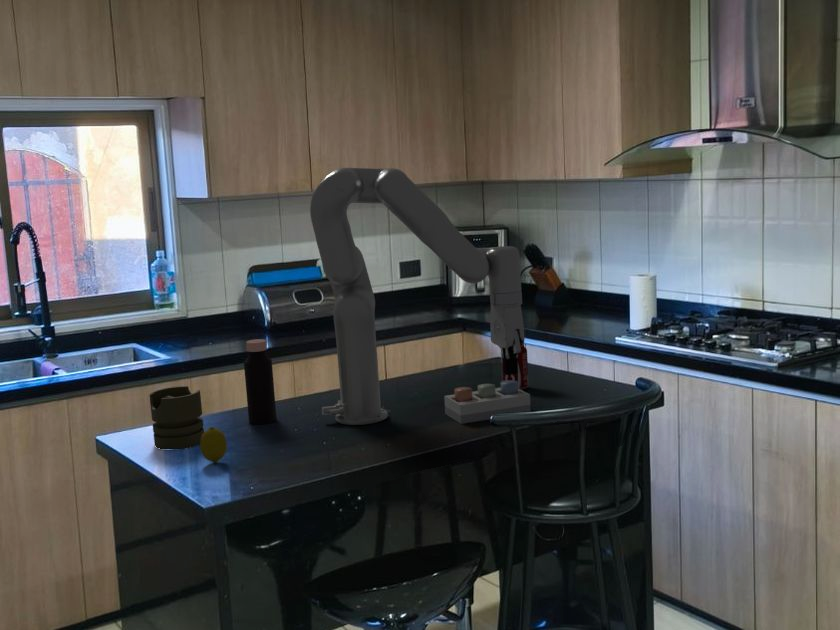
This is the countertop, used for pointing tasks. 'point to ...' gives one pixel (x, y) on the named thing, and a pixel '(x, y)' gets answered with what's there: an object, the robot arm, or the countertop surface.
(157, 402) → the piston
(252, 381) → the bottle
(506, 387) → the blue button
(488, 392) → the sage button
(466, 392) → the terracotta button
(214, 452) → the lemon
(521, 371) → the soda can
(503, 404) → the panel
